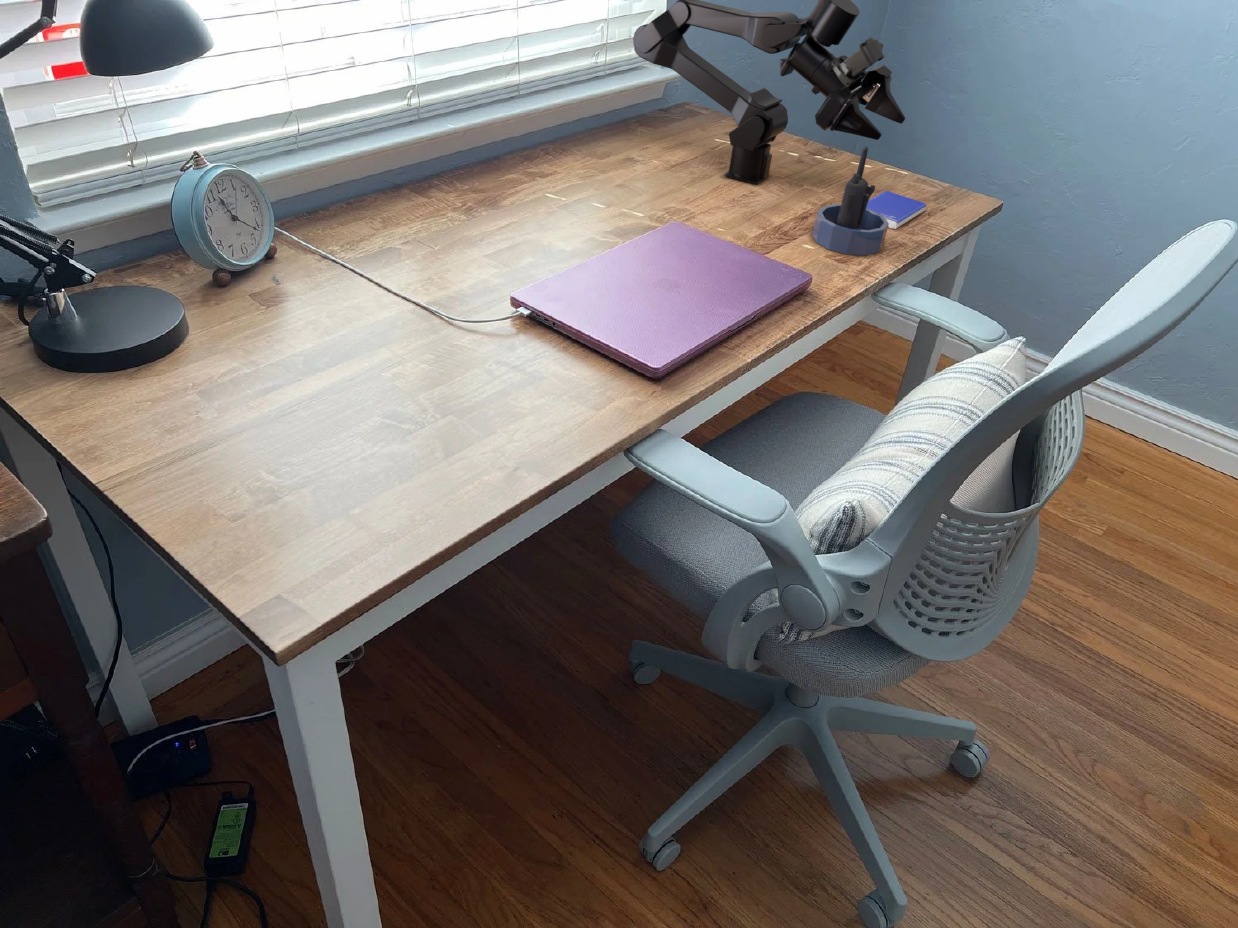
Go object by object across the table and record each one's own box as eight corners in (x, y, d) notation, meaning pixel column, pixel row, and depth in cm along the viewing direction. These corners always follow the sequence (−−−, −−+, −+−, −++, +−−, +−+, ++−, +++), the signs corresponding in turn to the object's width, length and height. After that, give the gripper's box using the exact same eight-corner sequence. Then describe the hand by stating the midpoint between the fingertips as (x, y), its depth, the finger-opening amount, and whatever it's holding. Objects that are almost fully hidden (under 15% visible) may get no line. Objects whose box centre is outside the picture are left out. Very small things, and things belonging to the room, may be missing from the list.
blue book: (898, 221, 161) (927, 203, 169) (854, 206, 164) (885, 190, 172) (895, 230, 161) (924, 211, 170) (852, 215, 165) (883, 198, 173)
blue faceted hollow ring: (804, 243, 154) (809, 219, 151) (825, 221, 162) (830, 199, 159) (871, 261, 150) (877, 237, 147) (889, 238, 158) (895, 215, 156)
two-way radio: (838, 232, 159) (860, 142, 150) (864, 238, 157) (887, 148, 148) (829, 243, 154) (851, 151, 146) (856, 250, 153) (879, 157, 144)
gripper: (821, 41, 147) (896, 105, 145) (873, 15, 159) (944, 74, 157) (785, 99, 156) (856, 161, 154) (838, 70, 167) (904, 127, 165)
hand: (891, 129), depth 157 cm, fingers open, 9 cm apart
